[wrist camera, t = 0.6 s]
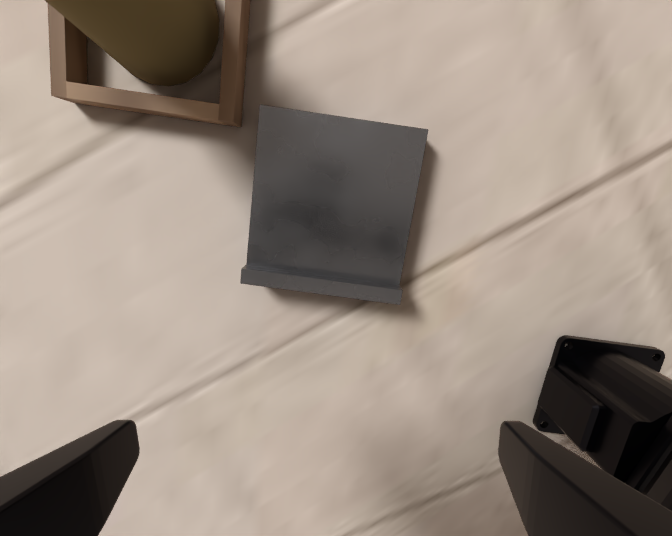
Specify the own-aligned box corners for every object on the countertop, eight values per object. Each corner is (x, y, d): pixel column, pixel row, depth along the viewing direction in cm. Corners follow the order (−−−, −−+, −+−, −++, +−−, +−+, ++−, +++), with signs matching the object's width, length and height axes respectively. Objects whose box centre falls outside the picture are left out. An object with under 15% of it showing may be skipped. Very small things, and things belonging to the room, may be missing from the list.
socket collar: (255, -68, 17) (248, -93, 16) (241, 127, 19) (233, 122, 18) (68, -98, 17) (42, -126, 15) (73, 102, 19) (51, 95, 17)
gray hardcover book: (421, 134, 19) (433, 126, 17) (392, 291, 21) (399, 304, 19) (265, 111, 19) (255, 99, 16) (251, 272, 21) (240, 283, 18)
